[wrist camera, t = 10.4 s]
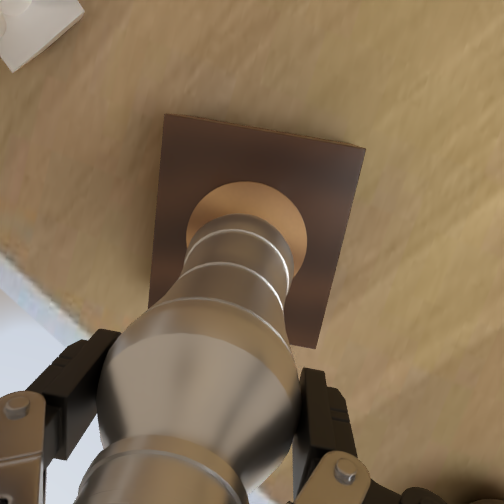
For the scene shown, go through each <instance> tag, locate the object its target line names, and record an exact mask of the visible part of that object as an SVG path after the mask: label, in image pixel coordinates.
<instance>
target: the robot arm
mask: <svg viewBox="0 0 504 504" xmlns="http://www.w3.org/2000/svg"><path fill="white" fill-rule="evenodd" d="M120 335H121V332H116V331H111V330H106V329H98V330H97V331H96V332H95V334H94V335H93V336H92V337H91V338H90V339H89V340H88V341H87V340H82V339H81V340H79V341H77V342H75V343H73V344H71V345H70V346H68V347H67V348H66V349H65V350H64V351H63V352H62V353H61V354H60V355H59V357H57V358H56V359H55V360H54V361H53V362H52V364H51V365H49V366H48V368H47V369H45V371H44V372H43V373H42V374H41V375H40V376H39V377H38V378H37V379H36V380H35V381H34V382H33V383H32V384H31V385H30V386H29V387H28V388H27V389H26V390H25V391H18V392H14V393H10V394H7V395H5V396H3V397H1V398H0V504H45V500H46V478H47V477H46V476H47V467H48V465H49V464H50V462H51V461H52V459H53V458H56V459H61V460H67V459H68V457H69V456H70V454H71V453H72V451H73V449H74V448H75V446H76V445H77V443H78V442H79V440H80V439H81V437H82V436H83V434H84V432H85V431H86V429H87V428H88V426H89V425H90V423H91V422H92V420H93V419H94V417H95V415H96V414H97V407H96V396H97V388H98V383H99V379H100V374H101V370H102V366H103V363H104V361H105V358H106V356H107V353H108V351H109V349H110V348H111V347H112V345H113V344H114V342H115V341H116V340H117V338H118V337H119V336H120ZM299 385H300V391H301V398H302V409H301V415H300V421H299V424H298V427H297V430H296V432H295V435H294V438H293V441H292V448H293V497H294V502H293V503H292V502H290V501H288V502H287V503H286V504H447V503H446V502H445V501H444V500H443V499H442V498H440V497H439V496H438V495H436V494H435V493H433V492H431V491H429V490H427V489H424V488H419V487H411V488H408V489H406V490H405V491H404V492H403V494H402V496H401V495H399V494H397V493H395V492H393V491H391V490H389V489H387V488H385V487H383V486H381V485H379V484H378V483H376V482H375V481H373V480H372V479H371V478H370V474H369V471H368V470H367V468H366V466H365V465H364V464H363V463H362V462H361V461H360V460H359V459H358V457H357V452H356V448H355V443H354V438H353V434H352V429H351V424H350V420H349V415H348V410H347V406H346V401H345V399H344V397H343V396H342V395H341V393H340V392H339V390H338V389H337V388H332V387H327V385H326V379H325V373H324V371H320V370H315V369H310V368H303V369H302V372H301V376H300V380H299Z"/></svg>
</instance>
